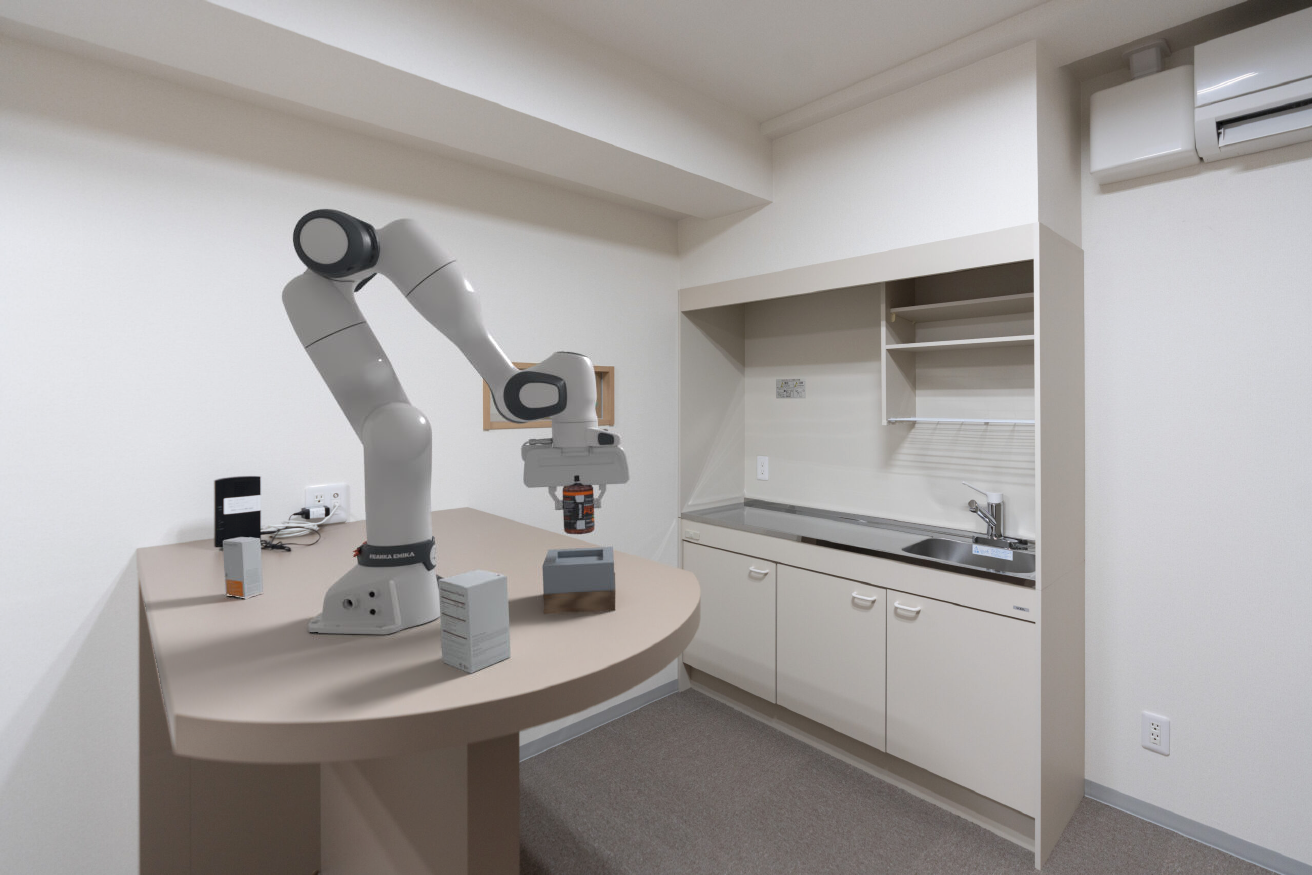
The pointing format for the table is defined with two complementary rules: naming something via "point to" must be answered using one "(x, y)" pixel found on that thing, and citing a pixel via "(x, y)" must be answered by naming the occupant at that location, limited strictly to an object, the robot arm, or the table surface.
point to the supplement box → (474, 619)
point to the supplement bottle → (578, 508)
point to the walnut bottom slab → (579, 601)
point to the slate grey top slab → (578, 570)
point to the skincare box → (243, 566)
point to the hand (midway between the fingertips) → (578, 508)
